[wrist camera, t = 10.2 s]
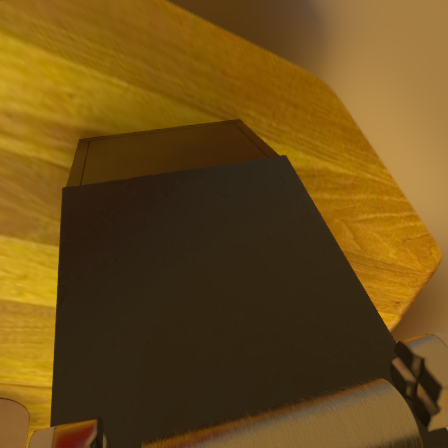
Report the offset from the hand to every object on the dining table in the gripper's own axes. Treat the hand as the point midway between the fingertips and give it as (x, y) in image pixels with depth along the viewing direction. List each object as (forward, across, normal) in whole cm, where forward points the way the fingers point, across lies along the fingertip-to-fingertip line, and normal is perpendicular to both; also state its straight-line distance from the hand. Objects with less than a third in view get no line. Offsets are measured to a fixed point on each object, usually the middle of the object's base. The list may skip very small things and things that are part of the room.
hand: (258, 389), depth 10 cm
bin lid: (+6, 0, +2) cm, 6 cm away
